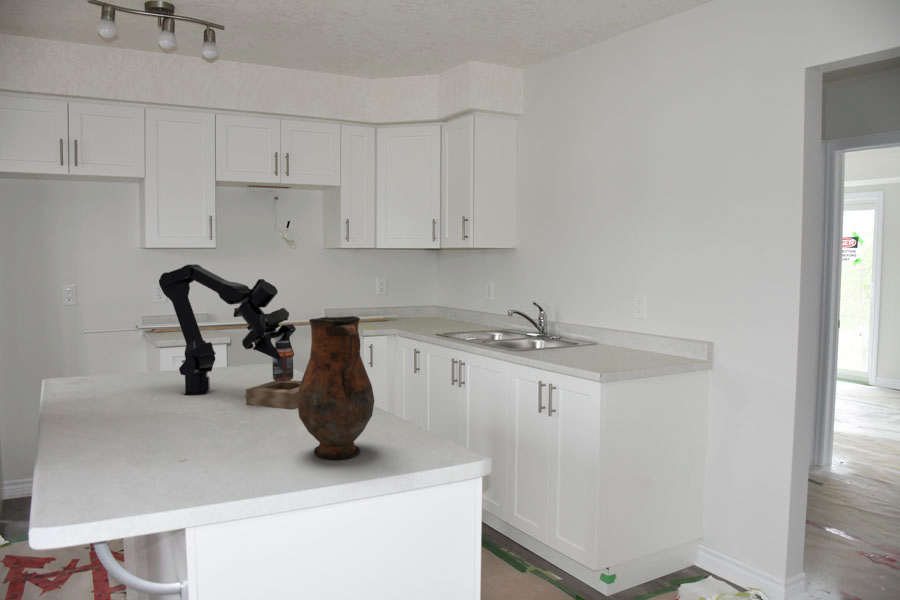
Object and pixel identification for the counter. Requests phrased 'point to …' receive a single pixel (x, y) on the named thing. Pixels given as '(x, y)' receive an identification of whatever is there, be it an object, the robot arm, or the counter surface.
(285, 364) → the supplement bottle
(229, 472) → the counter surface
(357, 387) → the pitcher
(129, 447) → the counter surface
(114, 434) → the counter surface
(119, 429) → the counter surface
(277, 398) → the walnut well
